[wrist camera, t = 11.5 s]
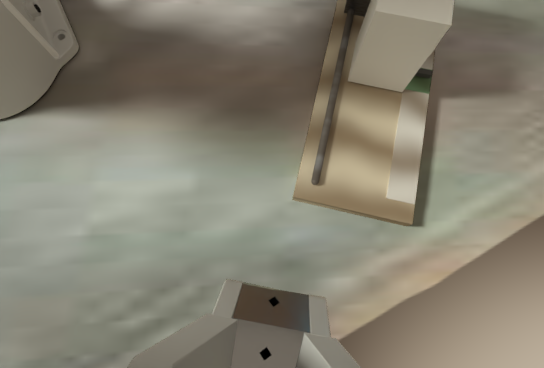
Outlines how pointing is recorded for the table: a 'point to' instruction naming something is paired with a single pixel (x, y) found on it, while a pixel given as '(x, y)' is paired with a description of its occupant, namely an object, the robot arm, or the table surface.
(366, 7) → the dark grey slab
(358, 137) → the board
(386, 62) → the block
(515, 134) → the table surface
